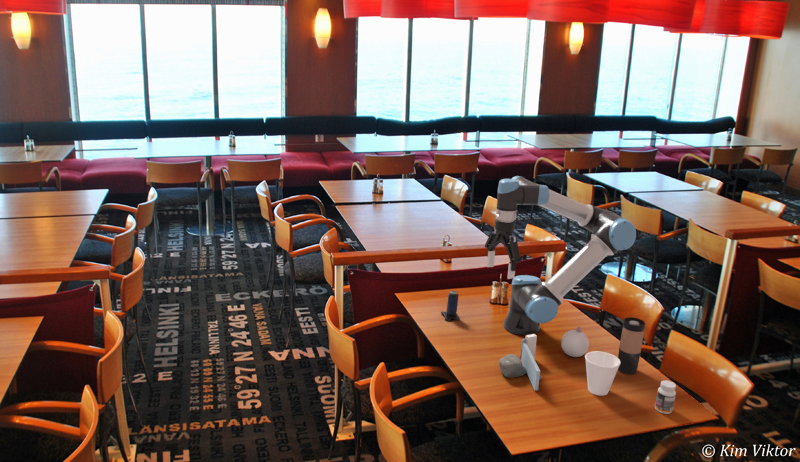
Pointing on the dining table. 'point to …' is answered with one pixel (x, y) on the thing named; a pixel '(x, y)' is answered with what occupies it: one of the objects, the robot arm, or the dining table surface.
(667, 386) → the pill bottle
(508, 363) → the stone
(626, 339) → the travel mug
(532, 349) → the tilted pink plank
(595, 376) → the cup
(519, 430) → the dining table surface
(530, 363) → the door
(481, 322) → the dining table surface
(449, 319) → the blue column with base
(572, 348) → the ornament
